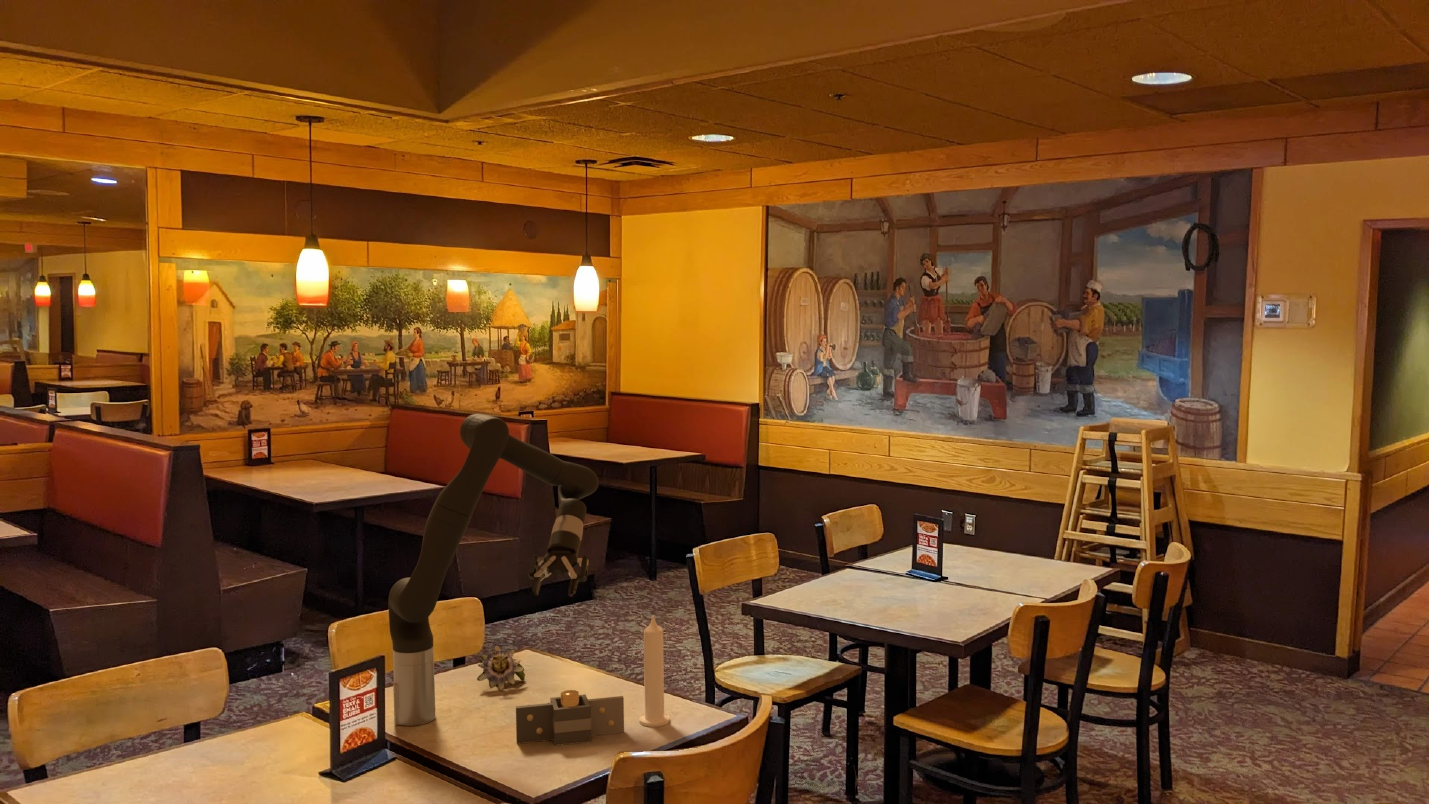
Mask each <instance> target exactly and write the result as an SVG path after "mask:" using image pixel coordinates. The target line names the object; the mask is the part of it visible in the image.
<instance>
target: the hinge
mask: <svg viewBox="0 0 1429 804" xmlns="http://www.w3.org/2000/svg"><path fill="white" fill-rule="evenodd" d="M549 701H550V702H548V703H538V704H526V705H518V706H517V705H516V706H515V725H516V727H515V730H516V731H515V732H516V734H515V735H516V736H515V737H516V738H515V739H516V744H525V743H535V742H542V741H543V740H546V741H553V743H554V746H559V745H560V746H561V744H563V745H570V743H573V744H580V743H591V742H592V736H600V735H611V734H618V733H620V732H621V733H624V732H625V709H624V708H625V707H624V705H625V702H624V696H623V695H620V696H609V697H598V698H588V697H587V695H586V694H585V693H584V694H579V706H573V707H563V708H561V696H557V697H555V696H554V697H550V700H549ZM543 742H544V741H543Z"/></svg>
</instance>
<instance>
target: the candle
mask: <svg viewBox="0 0 1429 804" xmlns="http://www.w3.org/2000/svg"><path fill="white" fill-rule="evenodd" d="M650 619H651V621H650V622H649V623H650V624H649V625H648V626H647V627H645V628H643V671H644V672H643V675H644V677H643V679H644V681H643V683H644V690H643V691H644V714H642V715H641V716H640V717H639V718H638V719H639V724H641V725H642V726H644V725H645V727H653V728H657V727H662V726H666V725H668V724H669V723H670V721H671V720H670V719H671V717H670V716H669V715H668V714H665V679H664V678H665V677H664V673H665V671H664V668H665V667H664V662H665V661H664V630H663V628H662V627H661V626H659V625H658V624H657V621H656V618H655V615H651V618H650Z"/></svg>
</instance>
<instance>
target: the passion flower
mask: <svg viewBox="0 0 1429 804" xmlns="http://www.w3.org/2000/svg"><path fill="white" fill-rule="evenodd" d="M514 655H515V650H510V651H508V652H506V653H505V651H504V652H503V650H501V649H500V647H499V646H498V645H496V646H495V647H494V649H493V651H492V652H490V654H487V655H485V654H482V655H481V658H480V657H479V656H478V657H477V658H478V659H477V660H478V661H479V664H477V666H478V667H480V668H481V669H483V671H482V673H480V674H479V675H478V676H477V678H476V680H477V681H478V682H481V681H482V682H483V681H484V680H488V686H489V688H490V689H493V688H494V687H496V688H497V690H498V691H499V692H502V691H503V689H504V687H505V683H506V682H507V683H509V684H510V685H515V682H516V679H515V675H516V676H517V677H518V678H519V679H520V681H521V683H524V682H525V680H526V679H525V677H526V674H525V668H524V667H523V665H522V664H520V663H521V662H522V661H521V659H520V658H514Z"/></svg>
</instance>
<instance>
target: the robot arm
mask: <svg viewBox="0 0 1429 804" xmlns="http://www.w3.org/2000/svg"><path fill="white" fill-rule="evenodd" d="M459 434H460V439H461V442H462V443H463V445H465V447H467V448H468V449H469V452H468V454H467V457H466V458H465V461H464V463H463V465H462V467H461V468H460V470H459V471H458V472H457V474H456V475H454V477H453V478H452V479H451V480H450V481H449V482H448V483H447V484H446V486H445V487H443V489H442V490H441V491H440V493H439V494H438V495H437V497H436V499H435V502H434V503H433V506H432V508H431V510H430V513H429V515H428V516H427V520H426V523H425V526H424V529H423V531H424V532H423V536H422V542H421V543H422V544H421V550H420V555H419V558H418V561H417V564H416V565H415V567H414V570H413V571H412V574H411V575H410V577H404V578H401V579H399V580H398V581H396V582H395V583H394V584H393V586H391V589H390V591H389V594H388V606H387V608H388V625H389V626H388V627H389V634H390V637H391V643H392V665H393V671H392V672H393V685H392V687H393V690H392V691H393V715H394V717H393V718H394V720H393V721H394V726H407V727H408V726H409V727H410V726H411V727H412V726H420V725H425V724H428V723H431V722H432V721H434V720H435V719H436V689H435V686H436V685H435V682H436V681H435V659H434V657H435V655H434V654H435V653H434V634H433V632H432V628H431V626H430V618H429V617H430V615H432V613H433V611H434V610H435V608H436V605H437V602H438V600H439V596H440V593H441V589H442V587H443V584H444V581H445V578H446V575H447V572H448V569H449V567H450V566H451V564H452V561H453V559H454V557H455V554H456V552H457V551H458V548H459V545H460V544H461V541H462V538H463V537H464V535H465V533H466V531H467V528H468V526H469V523H470V521H471V519H472V517H473V515H474V511H475V509H476V507H477V504H478V502H479V500H480V498H481V496H482V494H483V491H484V489H485V487H486V485H487V482H488V480H489V478H490V476H491V474H492V473H493V471H494V469H495V467H496V466H497V463H498V461H499V459H501V460H503V461H505V462H508V463H509V464H511V465H513V466H514V467H516V468H518V469H520V470H522V471H524V472H525V473H526V474H528V475H530V476H532V477H533V478H535V479H538V480H540V481H542V482H543V483H545V484H546V485H550V486H552V487H557V495H558V496H557V497H558V498H557V499H558V509H557V514H556V518H555V522H554V524H553V526H552V530H551V534H550V538H549V542H548V547H547V551H546V554H545V555H544V556H539V555H538V553H535V554H532V555H533V556H532V557H531V561H530V564H529V567H528V571H527V575H528V577H529V580H530V581H532V585H531V590H532V592H533V594H534V596H539V594H540V593H539V592H540V589H541V586H542V581H543V580H544V579H545V578H549V577H550V576H551V575H553V576H555V575H562V576H564V575H566V574H568V576H569V577H570V581H569V585H568V589H567V594H568V597H571V598H573V597H574V595H575V594H576V592H577V588H578V584H579V583H581V582H582V583H585V582H587V580H588V572H589V566H590V561H589V559H588V556H587V555H584V556H582V557H578V556H579V553H580V552H579V551H580V546H581V542H582V540H583V533H584V524H585V520H586V516H587V506H586V504H585V503H584V501H582V499H584V498H586V497H588V496H590V495H592V494H594V493H595V492H596V491H597V489H598V487H599V485H600V484H599V483H600V482H599V478H598V476H597V474H596V473H595V471H593V470H592V469H591V468H589V467H588V466H584V465H581V464H578V463H575V462H571V461H565V460H562V459H560V458H559V457H557V456H555V455H553V454H552V453H550V452H548V451H546V450H544V449H542V448H539V447H537V446H535V445H533V444H531V443H528V442H525V441H523V440H521V439H519V438H517V437H515V436H513V435H511V434H510V430H509V426H508V424H507V423H506V421H505V420H503V419H501V418H500V417H497V416H493V415H489V414H485V413H473V414H470V415H468V416H467V417H466V418H465V419H464V420H463V421H462V423H461V425H460V428H459ZM543 563H544V564H543ZM542 564H543V565H542ZM578 564H579V567H580V570H579V574H577V573H576V572H575V570H574V568H575V567H576V566H577V565H578ZM538 568H540V569H538Z"/></svg>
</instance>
